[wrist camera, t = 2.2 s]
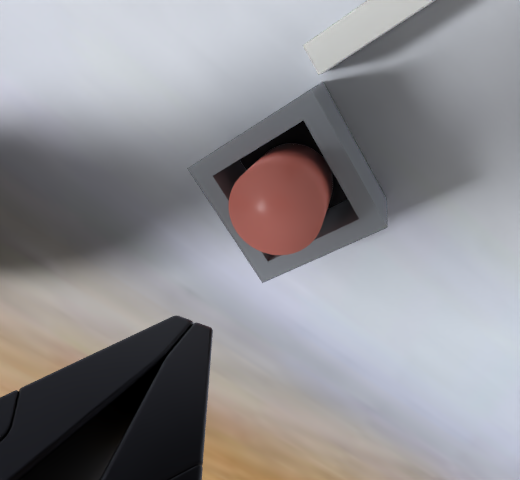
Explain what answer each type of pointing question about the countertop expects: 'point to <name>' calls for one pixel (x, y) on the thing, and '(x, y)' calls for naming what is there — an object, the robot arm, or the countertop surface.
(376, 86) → the countertop surface
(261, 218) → the plunger
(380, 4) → the white u-shaped frame
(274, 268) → the plunger block
